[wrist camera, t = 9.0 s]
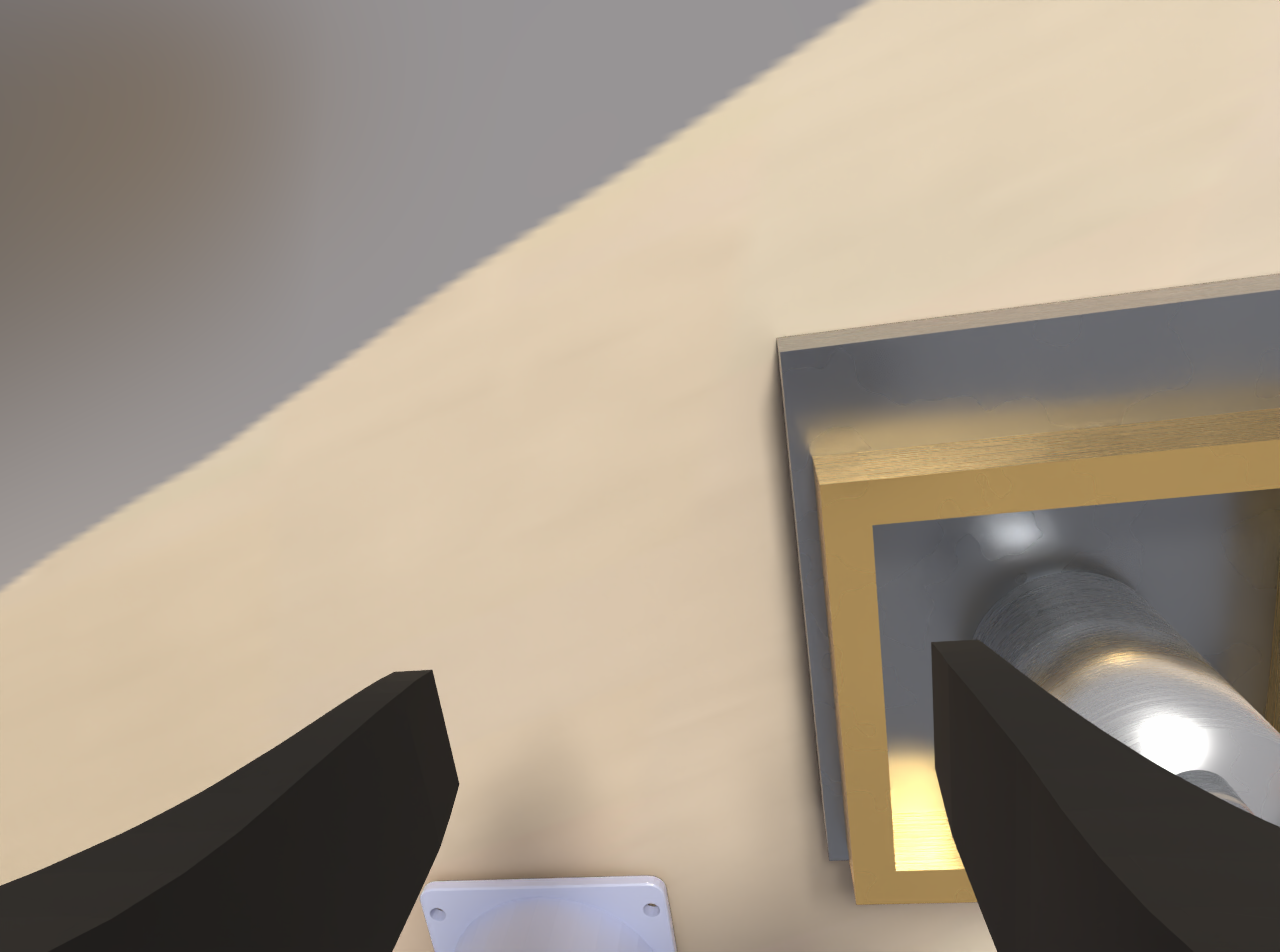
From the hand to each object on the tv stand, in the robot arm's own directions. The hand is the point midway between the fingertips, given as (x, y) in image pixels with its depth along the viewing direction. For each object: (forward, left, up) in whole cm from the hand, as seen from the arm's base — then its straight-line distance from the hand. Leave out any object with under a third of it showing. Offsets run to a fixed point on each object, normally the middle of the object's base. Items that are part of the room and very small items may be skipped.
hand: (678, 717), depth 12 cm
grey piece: (-4, -10, -10) cm, 15 cm away
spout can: (-5, -8, -8) cm, 13 cm away
